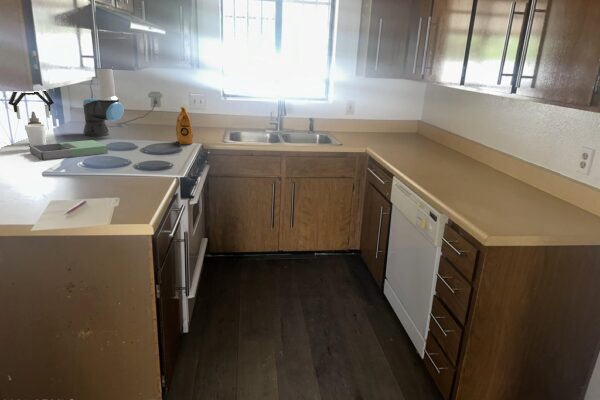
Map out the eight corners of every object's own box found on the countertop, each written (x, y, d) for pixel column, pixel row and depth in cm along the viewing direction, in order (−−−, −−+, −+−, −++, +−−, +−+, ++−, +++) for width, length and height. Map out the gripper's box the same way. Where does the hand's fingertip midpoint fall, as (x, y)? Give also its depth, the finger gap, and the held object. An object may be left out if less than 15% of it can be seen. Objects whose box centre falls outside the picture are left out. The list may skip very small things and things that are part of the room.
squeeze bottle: (48, 143, 247) (44, 111, 241) (39, 145, 239) (34, 113, 234) (35, 141, 248) (31, 110, 242) (25, 144, 240) (20, 112, 234)
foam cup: (27, 151, 224) (24, 127, 220) (28, 148, 232) (25, 124, 228) (48, 150, 229) (45, 126, 225) (49, 147, 236) (45, 123, 232)
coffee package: (176, 144, 262) (175, 108, 255) (176, 140, 273) (175, 105, 266) (193, 144, 264) (192, 108, 258) (192, 140, 276) (191, 106, 269)
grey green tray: (93, 146, 244) (93, 139, 242) (108, 153, 231) (107, 145, 230) (30, 153, 221) (29, 145, 220) (42, 160, 209) (41, 152, 208)
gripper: (52, 76, 229) (57, 116, 236) (-3, 75, 212) (4, 118, 219) (57, 77, 225) (61, 117, 231) (1, 76, 207) (8, 120, 214)
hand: (33, 118), depth 225 cm, fingers open, 13 cm apart
